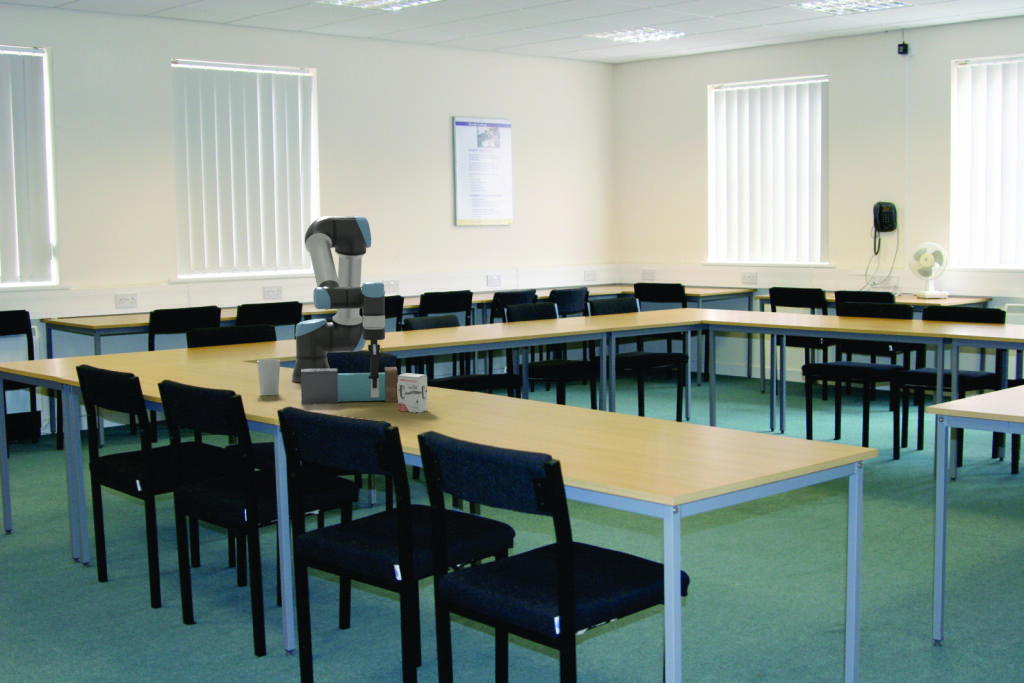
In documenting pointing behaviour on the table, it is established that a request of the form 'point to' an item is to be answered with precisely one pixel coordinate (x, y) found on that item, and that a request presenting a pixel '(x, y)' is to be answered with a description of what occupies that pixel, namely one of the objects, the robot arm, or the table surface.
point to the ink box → (412, 392)
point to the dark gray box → (319, 386)
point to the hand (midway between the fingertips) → (374, 396)
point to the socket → (391, 384)
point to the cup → (269, 376)
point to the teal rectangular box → (359, 387)
